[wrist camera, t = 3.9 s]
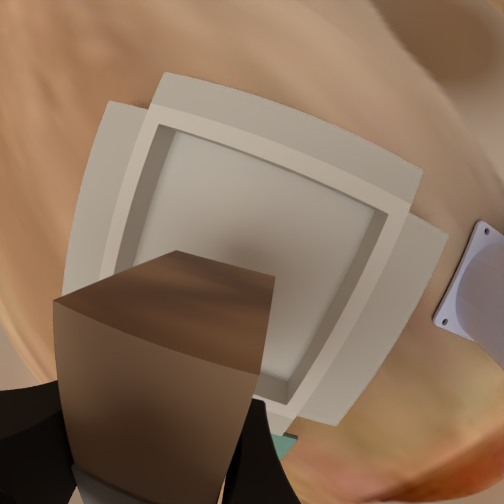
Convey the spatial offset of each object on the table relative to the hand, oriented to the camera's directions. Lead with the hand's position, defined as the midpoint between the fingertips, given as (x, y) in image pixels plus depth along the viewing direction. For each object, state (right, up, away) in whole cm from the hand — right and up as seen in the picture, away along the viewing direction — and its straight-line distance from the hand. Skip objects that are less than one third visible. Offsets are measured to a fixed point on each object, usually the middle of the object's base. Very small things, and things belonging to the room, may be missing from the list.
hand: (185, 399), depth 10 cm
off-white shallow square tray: (+1, +5, +9) cm, 10 cm away
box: (0, +1, +2) cm, 3 cm away
